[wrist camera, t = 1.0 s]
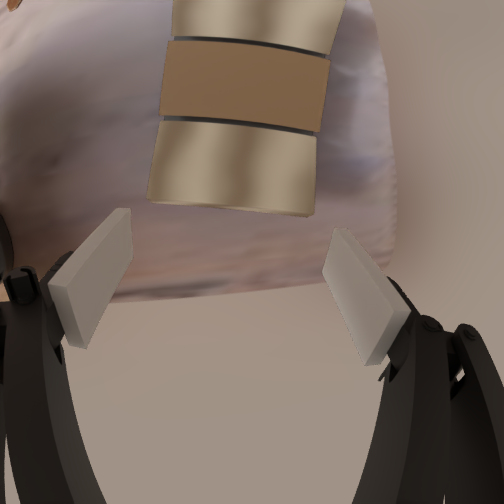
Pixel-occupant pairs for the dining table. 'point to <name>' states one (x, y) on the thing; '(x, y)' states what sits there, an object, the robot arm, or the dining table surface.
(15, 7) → the decorative fence
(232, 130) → the plank
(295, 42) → the plank
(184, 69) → the floor board
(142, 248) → the dining table surface
